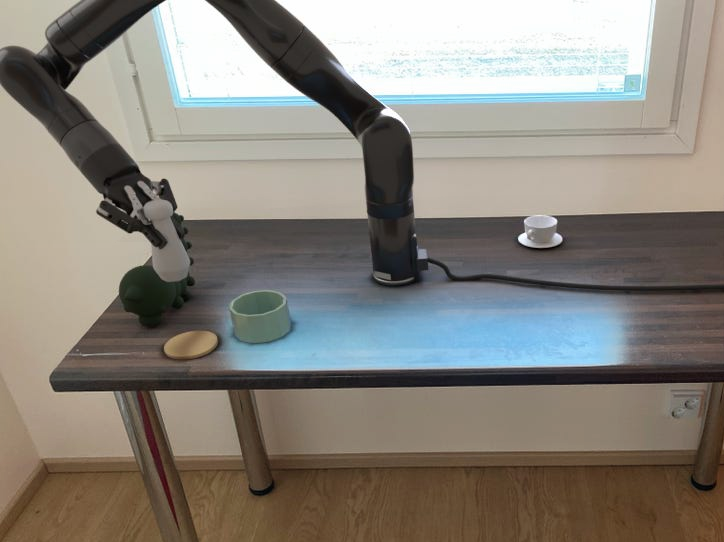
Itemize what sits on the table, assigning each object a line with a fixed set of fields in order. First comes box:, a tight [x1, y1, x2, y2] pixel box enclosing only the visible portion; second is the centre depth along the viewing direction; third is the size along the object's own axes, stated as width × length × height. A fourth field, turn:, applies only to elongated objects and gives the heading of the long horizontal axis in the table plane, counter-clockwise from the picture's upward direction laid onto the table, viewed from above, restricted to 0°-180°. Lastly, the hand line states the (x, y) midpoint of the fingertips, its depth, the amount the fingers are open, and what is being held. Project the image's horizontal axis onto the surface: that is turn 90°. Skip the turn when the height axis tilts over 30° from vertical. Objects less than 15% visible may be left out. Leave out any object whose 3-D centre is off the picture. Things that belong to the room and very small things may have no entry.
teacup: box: [517, 214, 563, 249], centre depth 166 cm, size 10×10×5 cm
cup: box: [228, 289, 292, 344], centre depth 134 cm, size 10×10×6 cm
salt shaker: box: [143, 200, 190, 282], centre depth 121 cm, size 6×6×13 cm
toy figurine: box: [118, 211, 196, 328], centre depth 138 cm, size 9×19×25 cm
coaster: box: [163, 330, 219, 361], centre depth 131 cm, size 9×9×1 cm
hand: (172, 241), depth 120 cm, fingers closed on salt shaker, 3 cm apart
